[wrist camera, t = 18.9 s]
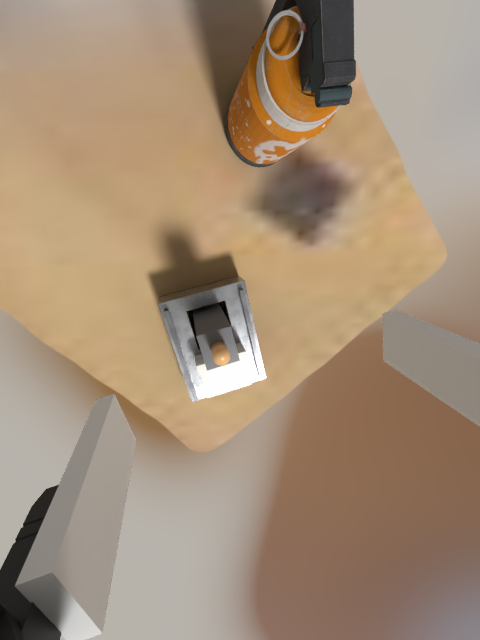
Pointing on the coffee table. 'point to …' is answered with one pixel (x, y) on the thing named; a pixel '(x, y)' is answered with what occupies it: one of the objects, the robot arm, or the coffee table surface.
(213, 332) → the plug
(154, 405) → the coffee table surface
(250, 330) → the socket
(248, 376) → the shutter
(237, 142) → the canister
